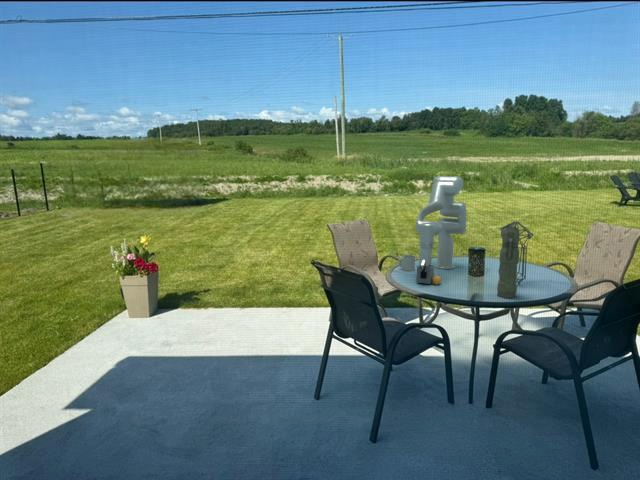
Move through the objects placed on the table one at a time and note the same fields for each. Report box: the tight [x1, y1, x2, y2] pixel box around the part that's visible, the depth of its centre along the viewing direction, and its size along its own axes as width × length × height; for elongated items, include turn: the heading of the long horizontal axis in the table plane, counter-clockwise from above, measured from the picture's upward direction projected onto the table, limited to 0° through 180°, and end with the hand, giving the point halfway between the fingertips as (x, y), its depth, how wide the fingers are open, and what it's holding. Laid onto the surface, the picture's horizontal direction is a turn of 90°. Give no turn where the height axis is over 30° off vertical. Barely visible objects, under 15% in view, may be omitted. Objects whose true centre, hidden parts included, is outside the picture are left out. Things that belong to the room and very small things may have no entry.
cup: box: [398, 254, 416, 272], centre depth 281 cm, size 7×10×9 cm
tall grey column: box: [496, 226, 521, 299], centre depth 224 cm, size 9×12×35 cm
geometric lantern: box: [498, 221, 534, 286], centre depth 247 cm, size 16×16×35 cm
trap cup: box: [415, 264, 435, 285], centre depth 250 cm, size 8×8×9 cm
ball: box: [432, 275, 442, 286], centre depth 248 cm, size 5×5×5 cm
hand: (425, 276), depth 250 cm, fingers closed on trap cup, 7 cm apart
